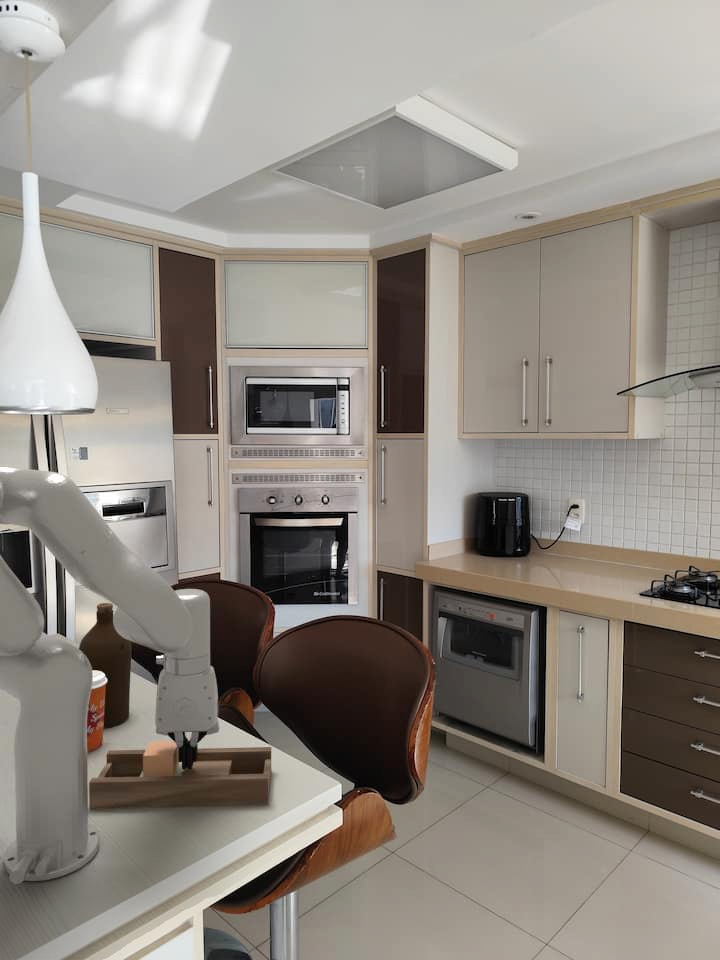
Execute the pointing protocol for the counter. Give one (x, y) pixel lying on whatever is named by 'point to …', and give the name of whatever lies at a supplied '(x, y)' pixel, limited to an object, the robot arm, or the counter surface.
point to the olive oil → (110, 664)
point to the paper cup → (96, 711)
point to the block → (160, 759)
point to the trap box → (184, 780)
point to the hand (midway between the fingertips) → (188, 765)
